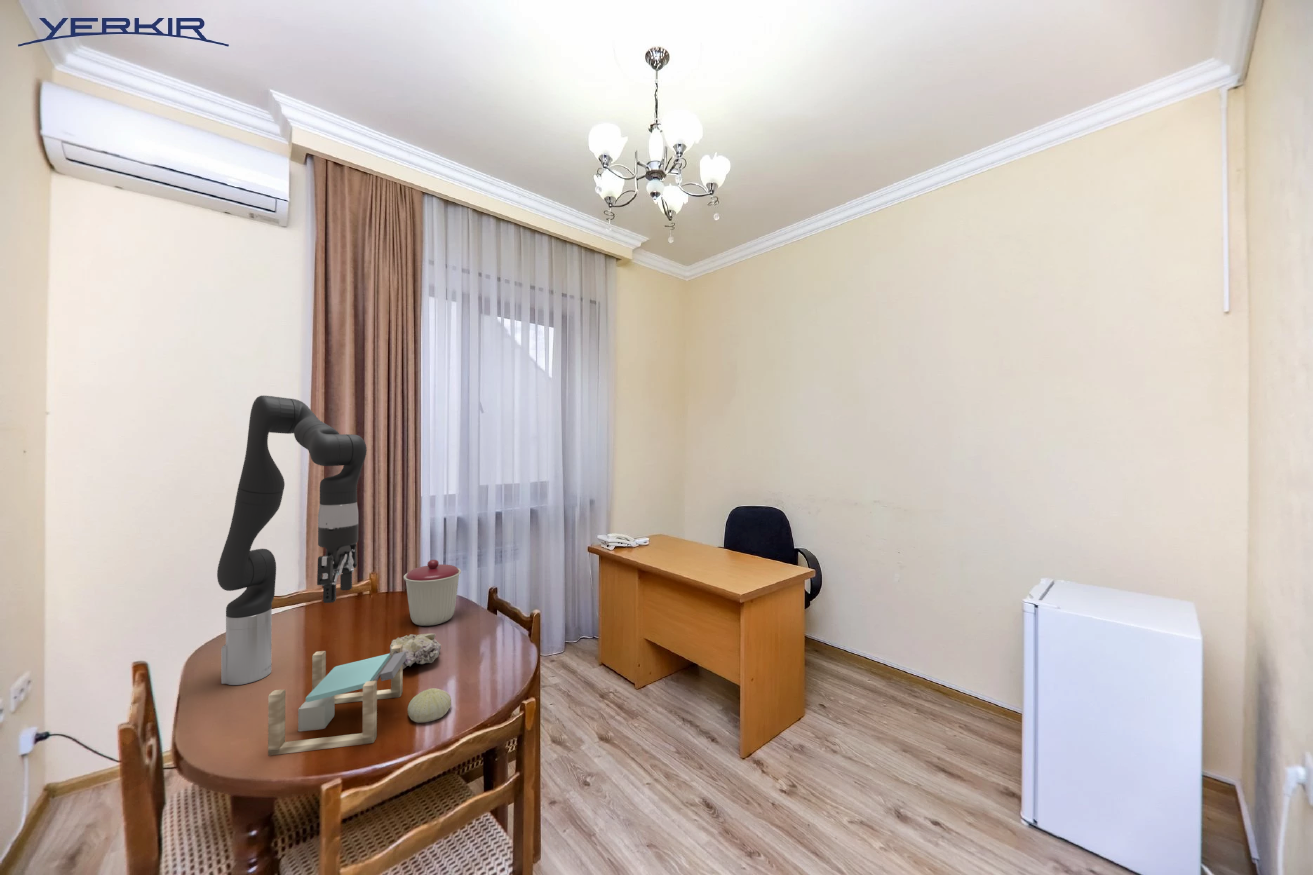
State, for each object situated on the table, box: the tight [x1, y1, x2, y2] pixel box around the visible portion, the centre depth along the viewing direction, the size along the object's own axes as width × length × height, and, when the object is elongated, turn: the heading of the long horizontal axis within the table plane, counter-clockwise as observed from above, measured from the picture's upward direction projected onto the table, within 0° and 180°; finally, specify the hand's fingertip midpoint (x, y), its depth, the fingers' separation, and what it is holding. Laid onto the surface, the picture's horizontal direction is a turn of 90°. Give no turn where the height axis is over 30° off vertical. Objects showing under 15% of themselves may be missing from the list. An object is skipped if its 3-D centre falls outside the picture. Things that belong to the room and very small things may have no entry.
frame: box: [267, 645, 404, 757], centre depth 107 cm, size 19×20×12 cm
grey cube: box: [297, 696, 336, 732], centre depth 106 cm, size 5×5×5 cm
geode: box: [389, 633, 442, 670], centre depth 136 cm, size 17×9×15 cm
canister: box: [403, 559, 462, 627], centre depth 166 cm, size 18×18×21 cm
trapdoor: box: [305, 651, 407, 703], centre depth 108 cm, size 16×14×2 cm
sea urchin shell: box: [407, 687, 452, 724], centre depth 110 cm, size 9×8×8 cm
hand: (338, 595), depth 107 cm, fingers open, 8 cm apart
